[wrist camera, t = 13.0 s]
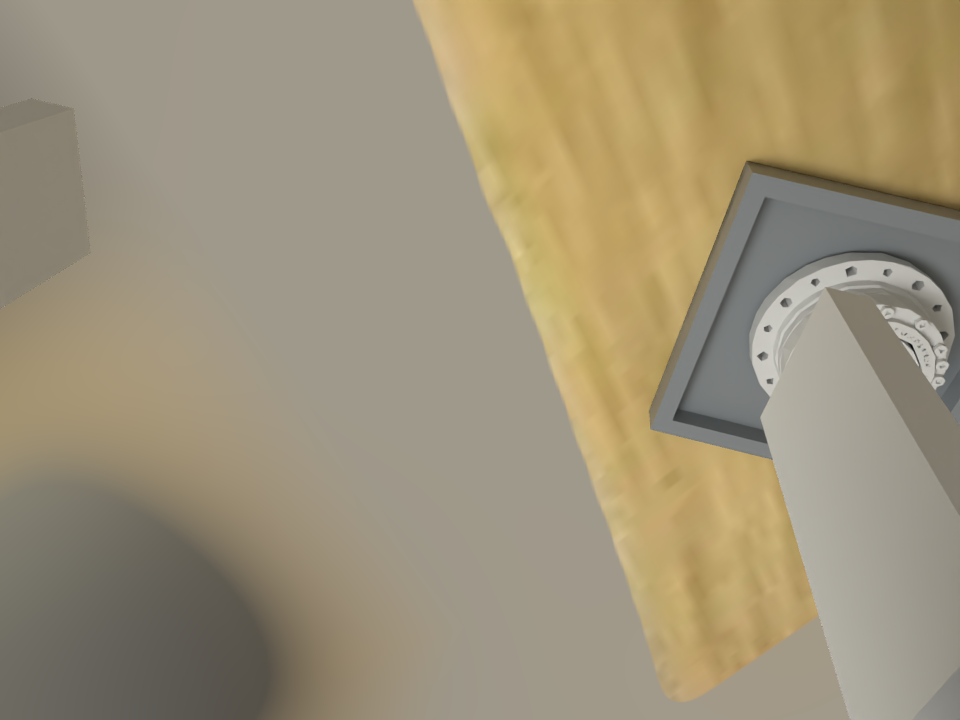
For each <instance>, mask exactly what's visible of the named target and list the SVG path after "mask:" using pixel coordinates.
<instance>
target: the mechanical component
mask: <svg viewBox="0 0 960 720" xmlns="http://www.w3.org/2000/svg"><path fill="white" fill-rule="evenodd" d="M825 287H828V288H832V289H836V290H841V291H845V292H849V293H853V294H857V295H862V296H866V297H870V298H871V299H872V300H873V302H874V303H875V304H876V306H877V307H878V309H879V310H880V312H881V313H882V315H883V316H884V317H885V319H886V320H887V322H888V323H889V325H890V326H891V328H892V329H893V330H894V332H895V333H896V335H897V336H898V338H899V339H900V340H901V342H902V343H903V345H904V346H905V348H906V349H907V351H908V352H909V353H910V355H911V356H912V358H913V359H914V361H915V362H916V364H917V365H918V366H919V368H920V369H921V371H922V372H923V374H924V375H925V377H926V378H927V379H928V381H929V382H930V384H931V385H932V387H933V388H934V389H935V390H936V388H937V387H938V386H941V385H943V384H944V382H945V379H944V378H943V375H944V374H945V372H946V370H947V369H948V366H949V364H948V362H947V360H948V356H949V353H950V350H951V346H952V343H953V340H954V337H955V332H954V322H953V312H952V308H951V306H950V304H949V303H948V301H947V299H946V298H945V296H944V294H943V292H942V291H941V289H940V288H939V287H938V286H937V285H936V283H935V282H934V281H933V280H932V279H931V278H930V277H929V276H928V275H926V274H925V273H924V272H922V271H921V270H919V269H918V268H917V267H915V266H914V265H912V264H911V263H910V262H907V261H904V260H902V259H899V258H896V257H893V256H890V255H887V254H884V253H845V254H840V255H835V256H831V257H826V258H824V259H821V260H818V261H816V262H813V263H811V264H808V265H806V266H804V267H803V268H801V269H799V270H798V271H796V272H795V273H793V274H791V275H790V276H788V277H787V278H785V279H784V280H783V281H782V282H781V283H780V284H779V285H778V286H777V287H776V288H775V289H774V290H773V291H772V292H771V293H770V294H769V295H768V296H767V297H766V298H765V300H764V301H763V303H762V304H761V306H760V308H759V309H758V311H757V313H756V315H755V318H754V321H753V324H752V327H751V330H750V333H749V344H750V359H751V362H752V365H753V367H754V370H755V373H756V375H757V378H758V381H759V384H760V385H761V386H762V388H763V389H764V390H765V391H766V393H767V394H768V395H769V396H770V397H771V395H772V393H773V391H774V389H775V386H776V384H777V382H778V380H779V378H780V376H781V374H782V372H783V370H784V368H785V366H786V364H787V362H788V360H789V358H790V356H791V354H792V352H793V350H794V348H795V346H796V344H797V342H798V340H799V338H800V336H801V334H802V332H803V330H804V328H805V326H806V324H807V322H808V320H809V318H810V316H811V314H812V312H813V310H814V308H815V306H816V304H817V302H818V300H819V298H820V296H821V294H822V292H823V290H824V288H825Z"/></svg>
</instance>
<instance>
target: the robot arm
mask: <svg viewBox="0 0 960 720" xmlns="http://www.w3.org/2000/svg"><path fill="white" fill-rule="evenodd" d="M88 254H90V244H89V236H88V227H87V219H86V210H85V201H84V192H83V184H82V175H81V166H80V158H79V149H78V140H77V132H76V124H75V115H74V108H70V107H66V106H62V105H57V104H53V103H49V102H45V101H40V100H36V99H28V100H25V101H21V102H18V103H14V104H11V105H8V106H4V107H1V108H0V309H1V308H2V307H4V306H6V305H7V304H9V303H10V302H12V301H14V300H15V299H17V298H19V297H20V296H22V295H23V294H25V293H27V292H28V291H30V290H31V289H33V288H35V287H36V286H38V285H39V284H41V283H43V282H44V281H46V280H48V279H49V278H51V277H52V276H54V275H56V274H57V273H59V272H61V271H62V270H64V269H66V268H67V267H69V266H70V265H72V264H74V263H75V262H77V261H78V260H80V259H82V258H83V257H85V256H87V255H88ZM760 419H761V422H762V425H763V429H764V432H765V436H766V439H767V442H768V446H769V449H770V452H771V456H772V459H773V462H774V466H775V469H776V473H777V476H778V479H779V483H780V486H781V489H782V493H783V496H784V500H785V503H786V506H787V510H788V513H789V516H790V520H791V523H792V526H793V530H794V533H795V537H796V540H797V543H798V547H799V550H800V553H801V557H802V560H803V564H804V567H805V570H806V574H807V577H808V580H809V584H810V587H811V590H812V594H813V597H814V601H815V604H816V607H817V611H818V614H819V617H820V621H821V624H822V627H823V631H824V634H825V638H826V641H827V644H828V648H829V651H830V654H831V658H832V661H833V665H834V668H835V671H836V675H837V678H838V681H839V685H840V688H841V692H842V695H843V698H844V701H845V705H846V708H847V712H848V715H849V718H850V720H960V426H959V424H958V423H957V421H956V420H955V418H954V417H953V415H952V414H951V413H950V411H949V410H948V408H947V407H946V405H945V404H944V402H943V401H942V400H941V398H940V397H939V395H938V394H937V392H936V391H935V389H934V388H933V387H932V385H931V384H930V382H929V381H928V379H927V378H926V377H925V375H924V374H923V372H922V371H921V369H920V368H919V366H918V365H917V364H916V362H915V361H914V359H913V358H912V356H911V355H910V353H909V352H908V351H907V349H906V348H905V346H904V345H903V343H902V342H901V340H900V339H899V338H898V336H897V335H896V333H895V332H894V330H893V329H892V328H891V326H890V325H889V323H888V322H887V320H886V319H885V317H884V316H883V315H882V313H881V312H880V310H879V309H878V307H877V306H876V304H875V303H874V302H873V300H872V299H871V298H870V297H866V296H862V295H857V294H853V293H849V292H845V291H841V290H836V289H832V288H828V287H825V288H824V290H823V292H822V294H821V296H820V298H819V300H818V302H817V304H816V306H815V308H814V310H813V312H812V314H811V316H810V318H809V320H808V322H807V324H806V326H805V328H804V330H803V332H802V334H801V336H800V338H799V340H798V342H797V344H796V346H795V348H794V350H793V352H792V354H791V356H790V358H789V360H788V362H787V364H786V366H785V368H784V370H783V372H782V374H781V376H780V378H779V380H778V382H777V384H776V386H775V389H774V391H773V393H772V395H771V397H770V399H769V401H768V403H767V405H766V407H765V409H764V411H763V413H762V415H761V417H760Z"/></svg>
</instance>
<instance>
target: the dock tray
mask: <svg viewBox="0 0 960 720" xmlns="http://www.w3.org/2000/svg"><path fill="white" fill-rule="evenodd" d="M845 253H884V254H887V255H890V256H893V257H896V258H899V259H902V260H904V261H907V262H910V263H911V264H912V265H914V266H915V267H917V268H918V269H919V270H921V271H922V272H924V273H925V274H926V275H928V276H929V277H930V278H931V279H932V280H933V281H934V282H935V283H936V285H937V286H938V287H939V288H940V289H941V291H942V292H943V294H944V296H945V298H946V299H947V301H948V303H949V304H950V306H951V308H952V312H953V322H954V332H955V337H954V340H953V343H952V346H951V350H950V353H949V356H948V360H947V362H948V364H949V366H948V369H947V370H946V372H945V374H944V375H943V378H944V379H945V382H944V384H943V385H941V386H938V387H937V388H936V390H935V391H936V392H937V394H938V395H939V397H940V398H941V400H942V401H943V402H944V404H945V405H946V407H947V408H948V410H949V411H950V413H951V414H952V415H953V417H954V418H955V420H956V421H957V423H958V424H959V426H960V211H959V210H955V209H950V208H946V207H942V206H937V205H933V204H929V203H924V202H920V201H916V200H911V199H907V198H903V197H898V196H894V195H890V194H885V193H881V192H877V191H873V190H868V189H864V188H860V187H855V186H851V185H847V184H842V183H838V182H834V181H829V180H825V179H821V178H816V177H812V176H808V175H803V174H799V173H795V172H790V171H786V170H782V169H778V168H773V167H769V166H765V165H760V164H756V163H752V162H747V161H746V163H745V166H744V168H743V171H742V173H741V176H740V178H739V181H738V184H737V186H736V189H735V191H734V194H733V196H732V199H731V202H730V204H729V207H728V209H727V212H726V214H725V217H724V220H723V222H722V225H721V227H720V230H719V232H718V235H717V238H716V240H715V243H714V245H713V248H712V250H711V253H710V256H709V258H708V261H707V263H706V266H705V268H704V271H703V274H702V276H701V279H700V281H699V284H698V286H697V289H696V292H695V294H694V297H693V299H692V302H691V304H690V307H689V310H688V312H687V315H686V317H685V320H684V322H683V325H682V328H681V330H680V333H679V335H678V338H677V340H676V343H675V346H674V348H673V351H672V353H671V356H670V358H669V361H668V364H667V366H666V369H665V371H664V374H663V376H662V379H661V382H660V384H659V387H658V389H657V392H656V394H655V397H654V400H653V402H652V405H651V407H650V410H649V414H650V428H651V430H655V431H659V432H663V433H667V434H671V435H675V436H679V437H683V438H687V439H691V440H695V441H699V442H704V443H708V444H712V445H716V446H720V447H724V448H728V449H732V450H736V451H740V452H744V453H748V454H752V455H756V456H760V457H764V458H768V459H772V456H771V452H770V449H769V446H768V442H767V439H766V436H765V432H764V429H763V425H762V422H761V419H760V417H761V415H762V413H763V411H764V409H765V407H766V405H767V403H768V401H769V399H770V396H769V395H768V394H767V393H766V391H765V390H764V389H763V388H762V386H761V385H760V384H759V381H758V378H757V375H756V373H755V370H754V367H753V365H752V362H751V359H750V344H749V333H750V330H751V327H752V324H753V321H754V318H755V315H756V313H757V311H758V309H759V308H760V306H761V304H762V303H763V301H764V300H765V298H766V297H767V296H768V295H769V294H770V293H771V292H772V291H773V290H774V289H775V288H776V287H777V286H778V285H779V284H780V283H781V282H782V281H783V280H784V279H785V278H787V277H788V276H790V275H791V274H793V273H795V272H796V271H798V270H799V269H801V268H803V267H804V266H806V265H808V264H811V263H813V262H816V261H818V260H821V259H824V258H826V257H831V256H835V255H840V254H845ZM772 460H773V459H772Z"/></svg>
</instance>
